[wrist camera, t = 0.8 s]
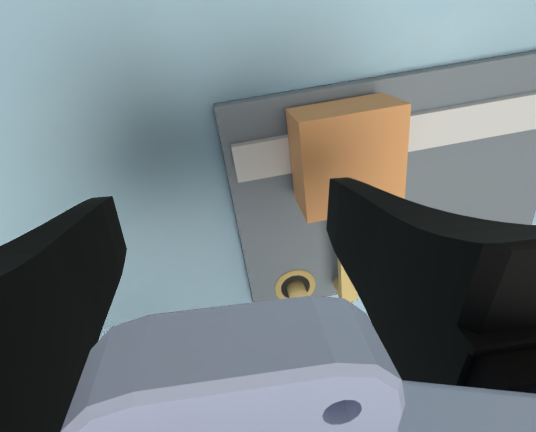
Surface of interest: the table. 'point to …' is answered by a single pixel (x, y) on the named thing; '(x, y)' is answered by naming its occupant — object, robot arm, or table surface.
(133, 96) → the table surface
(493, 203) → the plate
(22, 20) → the table surface
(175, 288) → the table surface
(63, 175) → the table surface
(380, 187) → the leg
